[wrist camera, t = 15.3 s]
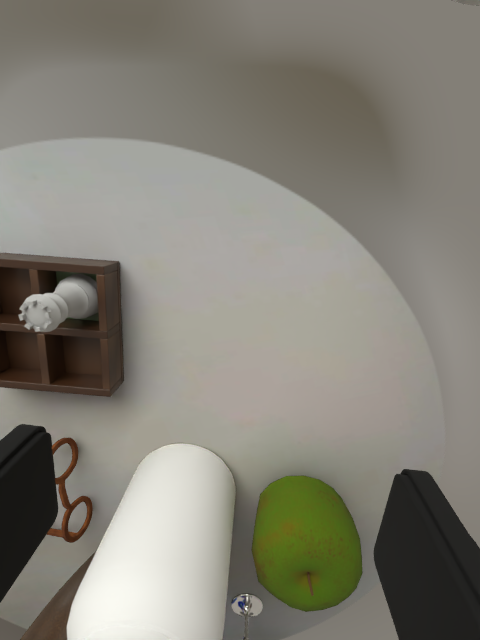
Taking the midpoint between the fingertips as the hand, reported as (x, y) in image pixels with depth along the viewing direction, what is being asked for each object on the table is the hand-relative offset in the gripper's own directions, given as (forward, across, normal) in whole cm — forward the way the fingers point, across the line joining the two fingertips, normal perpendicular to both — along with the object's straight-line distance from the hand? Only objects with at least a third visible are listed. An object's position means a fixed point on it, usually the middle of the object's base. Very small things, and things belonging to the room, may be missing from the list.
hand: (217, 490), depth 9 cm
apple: (+26, -8, +26) cm, 38 cm away
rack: (+26, +20, +6) cm, 33 cm away
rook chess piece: (+26, +17, +2) cm, 31 cm away
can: (+26, +6, +25) cm, 37 cm away
